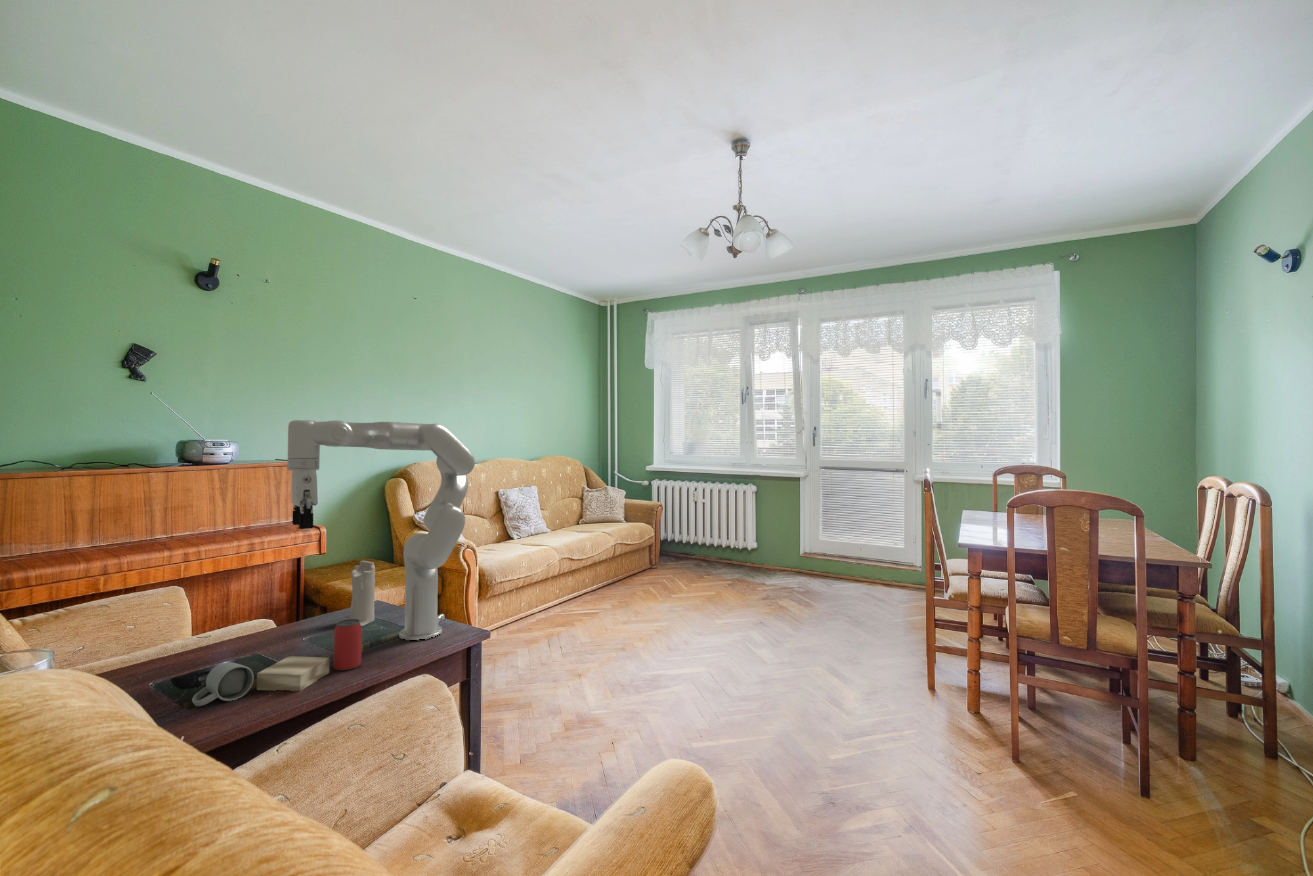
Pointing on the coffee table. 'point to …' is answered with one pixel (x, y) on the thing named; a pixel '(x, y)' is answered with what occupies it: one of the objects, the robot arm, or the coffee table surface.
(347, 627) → the beer can
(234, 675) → the ceramic mug
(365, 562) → the beige boot
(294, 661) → the birch block
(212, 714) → the coffee table surface
